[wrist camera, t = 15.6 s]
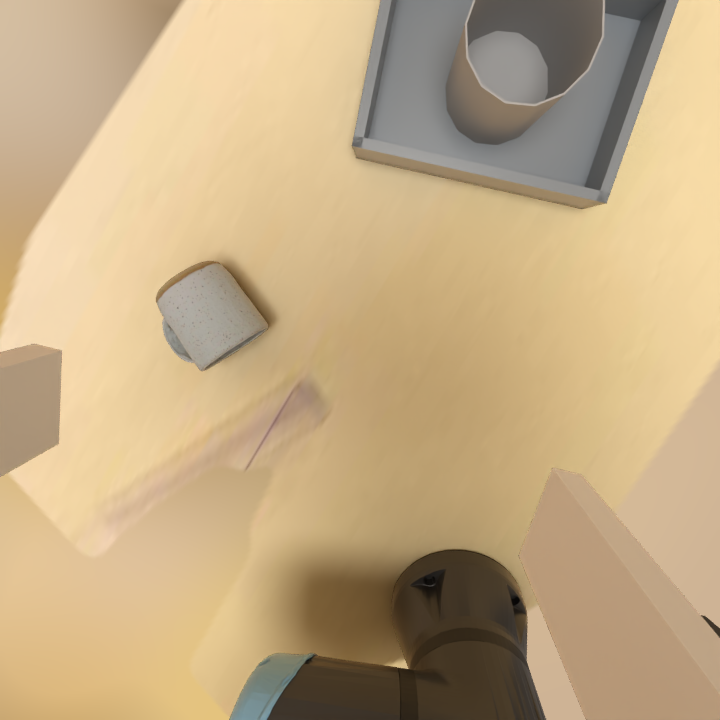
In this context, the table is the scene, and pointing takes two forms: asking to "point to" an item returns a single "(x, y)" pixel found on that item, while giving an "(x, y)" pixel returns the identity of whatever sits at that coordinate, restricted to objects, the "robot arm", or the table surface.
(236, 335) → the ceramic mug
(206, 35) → the table surface
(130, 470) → the table surface
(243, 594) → the table surface
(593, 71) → the slate bin
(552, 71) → the cup
